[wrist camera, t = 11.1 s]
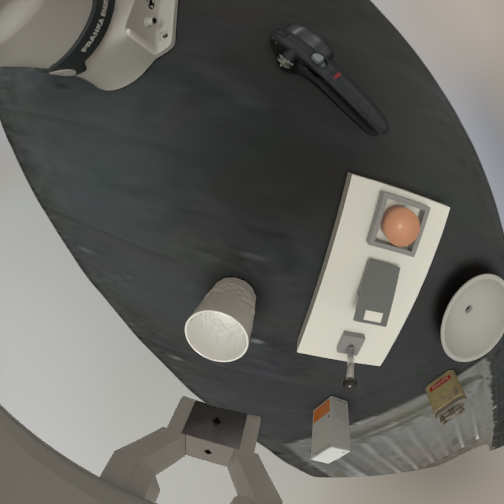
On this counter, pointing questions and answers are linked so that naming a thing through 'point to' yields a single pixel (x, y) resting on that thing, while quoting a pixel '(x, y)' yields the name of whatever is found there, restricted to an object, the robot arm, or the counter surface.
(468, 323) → the dish
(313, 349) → the switch panel
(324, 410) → the skincare box
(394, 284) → the block
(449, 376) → the lighter
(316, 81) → the can opener
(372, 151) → the counter surface
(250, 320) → the white cup
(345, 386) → the toggle lever
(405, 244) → the push button
